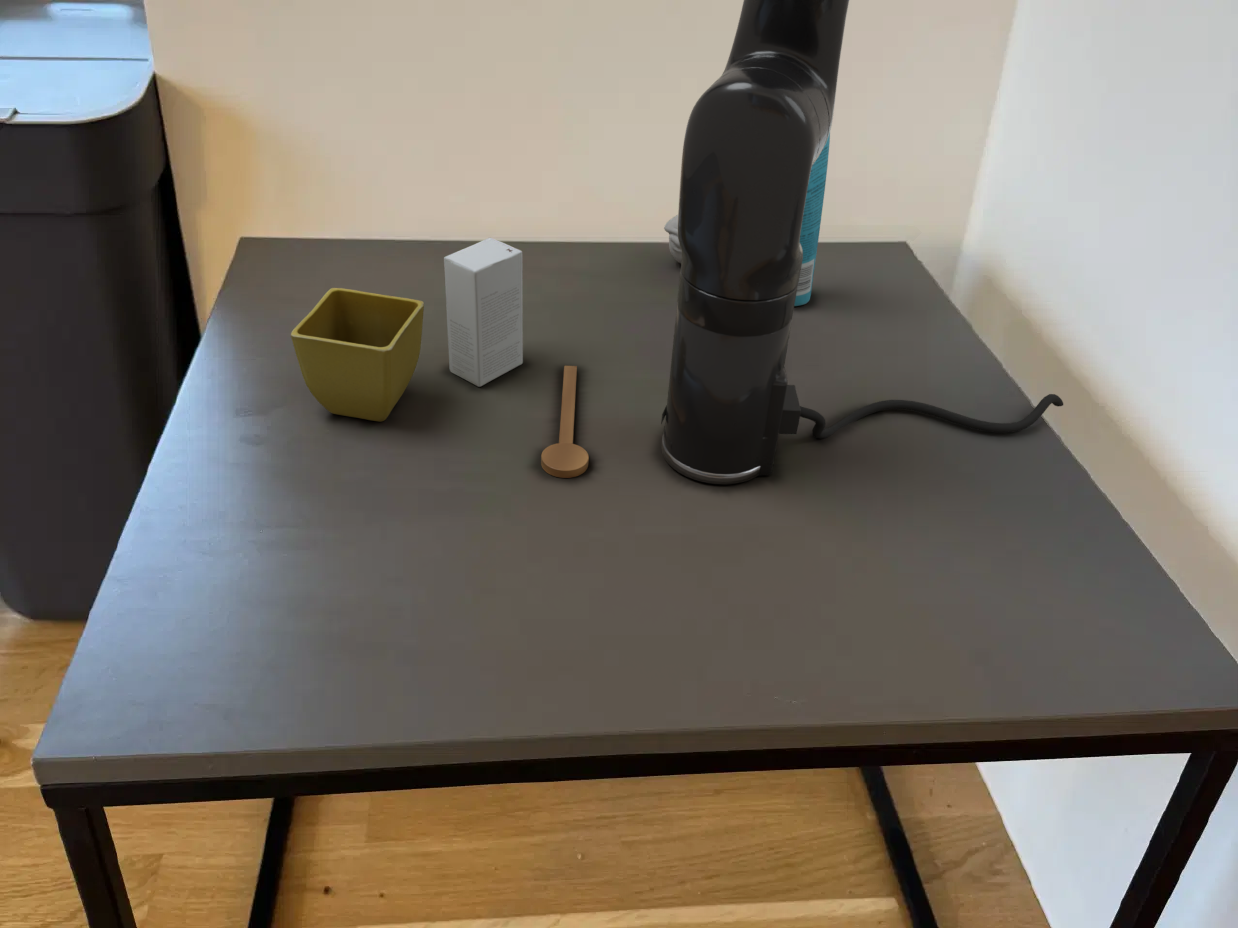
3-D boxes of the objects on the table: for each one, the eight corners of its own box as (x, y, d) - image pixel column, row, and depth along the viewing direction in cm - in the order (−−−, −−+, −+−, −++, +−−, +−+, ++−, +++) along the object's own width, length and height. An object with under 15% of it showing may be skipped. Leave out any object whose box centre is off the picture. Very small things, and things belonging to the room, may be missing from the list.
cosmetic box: (492, 348, 108) (491, 235, 101) (523, 365, 106) (525, 250, 99) (446, 372, 104) (442, 255, 97) (478, 389, 102) (476, 271, 95)
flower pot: (395, 440, 95) (389, 349, 90) (299, 423, 96) (287, 333, 91) (430, 387, 102) (425, 300, 97) (340, 372, 103) (331, 286, 98)
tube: (778, 278, 124) (805, 109, 113) (819, 290, 122) (851, 119, 111) (754, 305, 119) (779, 129, 107) (796, 317, 117) (827, 140, 106)
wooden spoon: (591, 372, 106) (591, 364, 105) (587, 479, 92) (588, 471, 92) (549, 369, 106) (549, 362, 105) (539, 477, 92) (540, 469, 91)
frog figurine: (724, 277, 124) (731, 219, 119) (661, 274, 123) (667, 216, 119) (719, 253, 128) (726, 196, 124) (659, 250, 128) (664, 193, 124)
